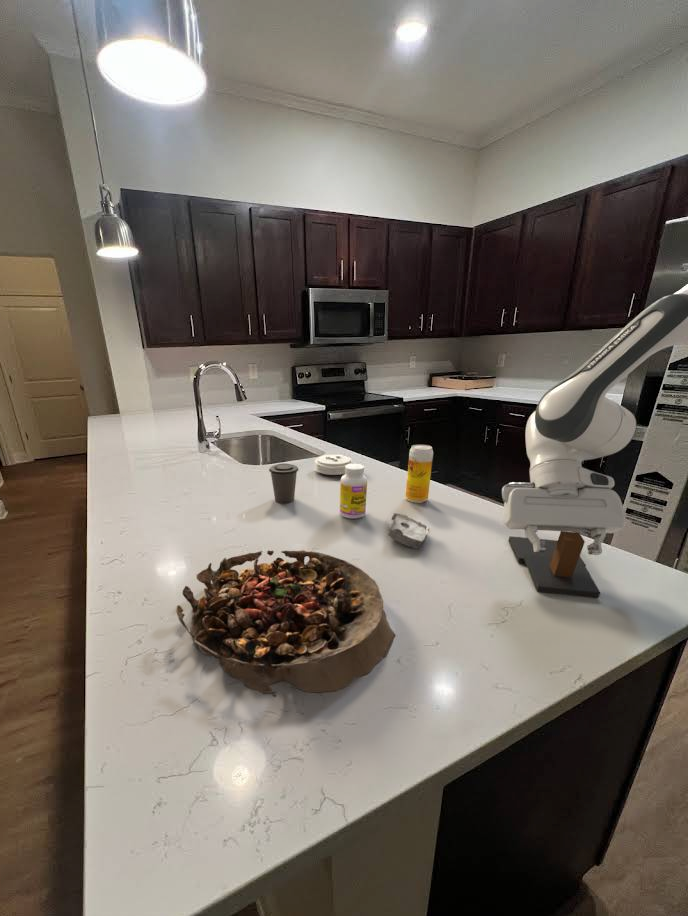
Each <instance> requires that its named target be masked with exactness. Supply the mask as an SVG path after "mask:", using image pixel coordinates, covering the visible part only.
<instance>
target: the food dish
mask: <svg viewBox="0 0 688 916" xmlns="http://www.w3.org/2000/svg"><path fill="white" fill-rule="evenodd" d="M263 552H264V550H262V551H261V550H260V551H257V552H249V553H245V554H241V555H236V556H231V557H229V558H226V557H224V558H223V559H222V560H221V561H219V567H218V569H216V570H213V569H212V565H213V564H212V563H211V562H210V563H208V566H207V568H204V569H203V570H201V571H200V572H199V573H197V574H196V579H197V581H198V582H199V583H202V584H204V586H205V587H204V589H203V590H204V595H205V596H202V597H200V598H199V599H198V600H197V599H196V598H195V596H194V592H193V591H192V590H191V587H189V586H188V585H185V586H184V588H183V589H182V596H183V597H184V598H185V600H186V601H187V602H188V603H189V604H190V606H191V609H192V613H193V614H192V616H191V625H190V627H189V628H188V627H187V625H186V623H185V621H184V617H185V613H183V612H184V609H183V608H182V606H181V605H179V604H178V605H176V610H175V611H176V616H177V618H178V621H179V623H180V624H181V625H182V627H183V628H185V630H186V631H187V632H188V634H189V636H190V637H191V639H192V640H193V646H194V647H195V648H197V649H198V650H199V652H200V653H202V654H205V656H207V655H208V656H213V657H214V658H217V659H219V664H220V666H221V667H223V671H224V672H225V673H226V674H227V675H230V676H231V677H233V678H236V679H238V680H241V681H242V684H243V685H244V686H245V687H247V688H250V689H252V690H255V691H259V692H261V694H265V695H266V694H271V695H272V696H273V697H276V696H277V695H276V694H275V693H276V691H273V690H272V688H271V687H270V685H275V684H277V683H278V682H280V681H283V682H288V683H290V684H293V685H294V687H295V689H298V690H301V691H303V692H305V693H315V694H316V693H324V692H325V693H326V692H333V691H334V692H338V691H339V690H342V689H345V688H346V687H347V686H348V685H350V684H351V683H352V682H353V681H354V680H355V679H356V678H359V677H362V676H364V675H368V674H370V673H371V671H372V670H373V669H374V667H375V666H376V665H377V664H379V663H380V662H381V661H382V659H383V658H385V657H386V656H387V654H388V653H389V652H390V651H389V650H390V649H391V647H392V644H393V642H394V639H395V637H396V636H397V634H396V633H395V632H394V630H393V629H392V627H391V625H390V622H388V618H387V613H386V611H385V610H384V599H383V596H382V594H381V592H380V588H379V585H378V584H377V582H376V580H375V579H374V578H372V577H370V575H369V574H368V573H366V572H365V571H364V570H363V569H362V568H360V567H359V566H357V565H355V564H353V563H350V562H348V561H347V560H344V559H341V558H338V557H335V556H332V555H330V554H325V553H323V552H322V553H321V552H317V551H308V550H307V551H306V550H282V551H280V553H282V554H284V556H285V557H288V558H290V559H295V561H292V562H289V561H287V560H284V559H283V558H281V557H277V558H276V559H274V560H273V561H272V562H271V563H270V564H269V563H265V562H264V563H259V564H258V562H259V558H260V557H261V556H262V555H263ZM266 553H267V555H268V556H272V555H273V554H274V553H275V551H274V550H267V551H266ZM306 557H308V558H309V560H308V561H307V563H306V564H305V559H306ZM253 561H254V562H253ZM247 562H253V568H252V569H251V568H245V569H242V570H241V573H239V572H238V571H237V570H236V569H232V568H234V567H237V566H242V565H244V564H245V563H247ZM189 630H190V631H189Z"/></svg>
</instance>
